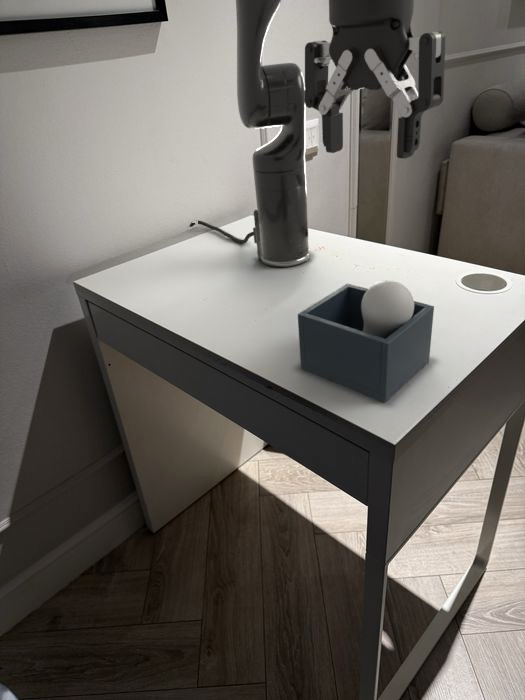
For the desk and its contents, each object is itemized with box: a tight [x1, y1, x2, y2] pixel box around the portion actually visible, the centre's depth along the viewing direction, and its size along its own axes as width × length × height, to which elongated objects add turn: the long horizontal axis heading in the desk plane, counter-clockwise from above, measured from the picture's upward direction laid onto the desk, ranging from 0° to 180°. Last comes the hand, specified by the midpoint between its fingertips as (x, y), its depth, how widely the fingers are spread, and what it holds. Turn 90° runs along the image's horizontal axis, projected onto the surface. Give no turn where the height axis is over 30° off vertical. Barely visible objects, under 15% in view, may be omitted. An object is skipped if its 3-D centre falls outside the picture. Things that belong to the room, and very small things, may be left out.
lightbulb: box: [361, 280, 415, 339], centre depth 63 cm, size 6×6×11 cm
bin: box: [297, 283, 435, 403], centre depth 65 cm, size 13×11×8 cm
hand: (368, 154), depth 54 cm, fingers open, 8 cm apart
